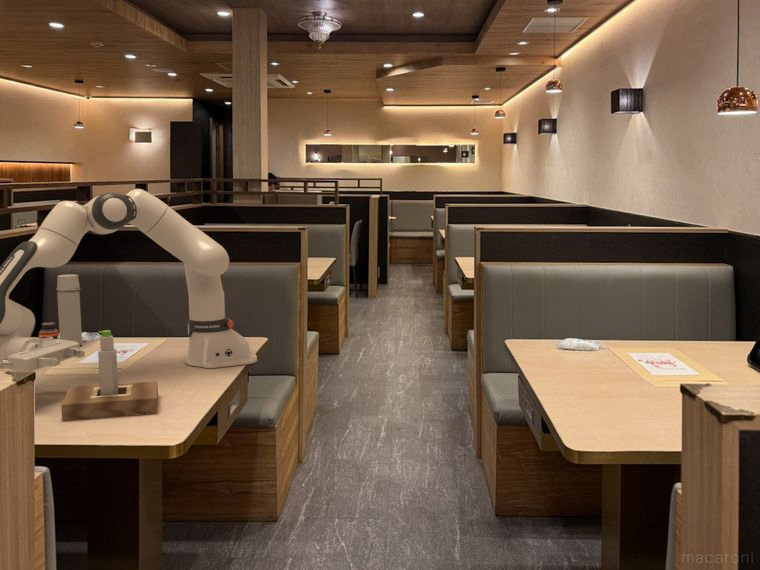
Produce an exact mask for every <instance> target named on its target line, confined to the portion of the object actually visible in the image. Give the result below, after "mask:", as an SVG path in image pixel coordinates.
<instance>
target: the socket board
mask: <svg viewBox="0 0 760 570" xmlns="http://www.w3.org/2000/svg"><path fill="white" fill-rule="evenodd" d="M158 386H159V385H158V381H157V380H155V381H142V382H141V381H139V382H125V383H118V395H105V396H100V384H98V385H97V384H96V385H83V386H69V388H68V390H67V393H66V394H65V396H64V399H63V400H62V402H61V404H60V406H61V408H60V409H61V421H62V420H67V421H75V420H74V419H80V420H90V419H89V418H93V419H102V418H104V417H105V418H116V417H117V416H118V417H127V416H126V415H131V416H137V415H136V414H144V415H147V414H146V413H156V414H158V405H157V404H158V401H159V388H158Z"/></svg>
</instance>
